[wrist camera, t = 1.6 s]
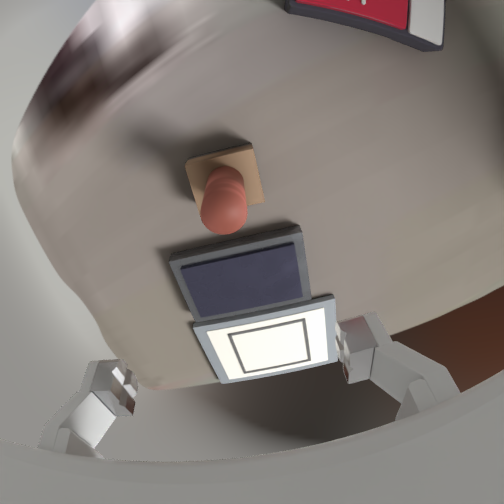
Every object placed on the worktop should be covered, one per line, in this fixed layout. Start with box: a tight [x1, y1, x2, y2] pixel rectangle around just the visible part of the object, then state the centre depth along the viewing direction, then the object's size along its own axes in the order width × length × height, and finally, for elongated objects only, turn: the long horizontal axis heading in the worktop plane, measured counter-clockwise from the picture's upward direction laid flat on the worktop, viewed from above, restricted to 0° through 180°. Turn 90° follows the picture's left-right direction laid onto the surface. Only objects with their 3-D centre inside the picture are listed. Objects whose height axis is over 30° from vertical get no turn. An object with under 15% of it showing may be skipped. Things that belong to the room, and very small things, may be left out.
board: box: [193, 295, 338, 384], centre depth 41 cm, size 18×13×1 cm
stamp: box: [185, 143, 265, 234], centre depth 25 cm, size 6×5×9 cm
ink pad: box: [169, 225, 312, 323], centre depth 34 cm, size 14×9×2 cm, turn 102°
